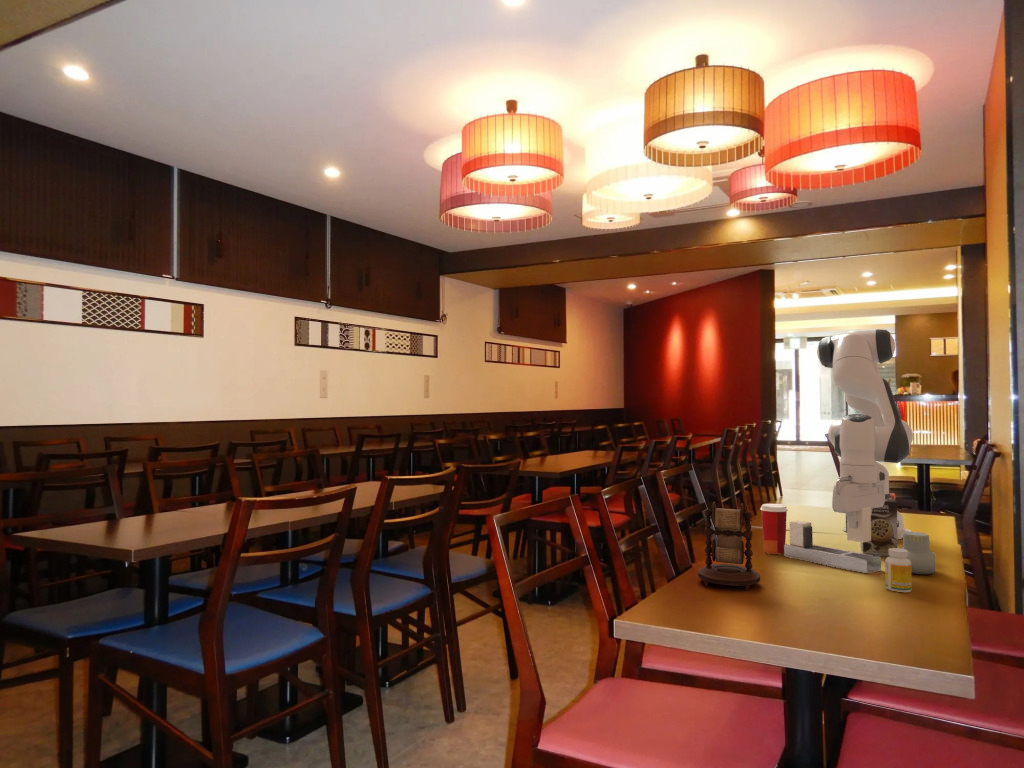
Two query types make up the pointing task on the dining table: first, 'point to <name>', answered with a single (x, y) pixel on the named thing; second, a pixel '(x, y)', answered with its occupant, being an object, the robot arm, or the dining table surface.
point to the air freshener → (919, 552)
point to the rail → (826, 551)
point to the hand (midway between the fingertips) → (859, 526)
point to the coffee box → (882, 530)
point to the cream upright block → (860, 526)
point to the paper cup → (774, 527)
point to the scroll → (728, 548)
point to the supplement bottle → (898, 570)
